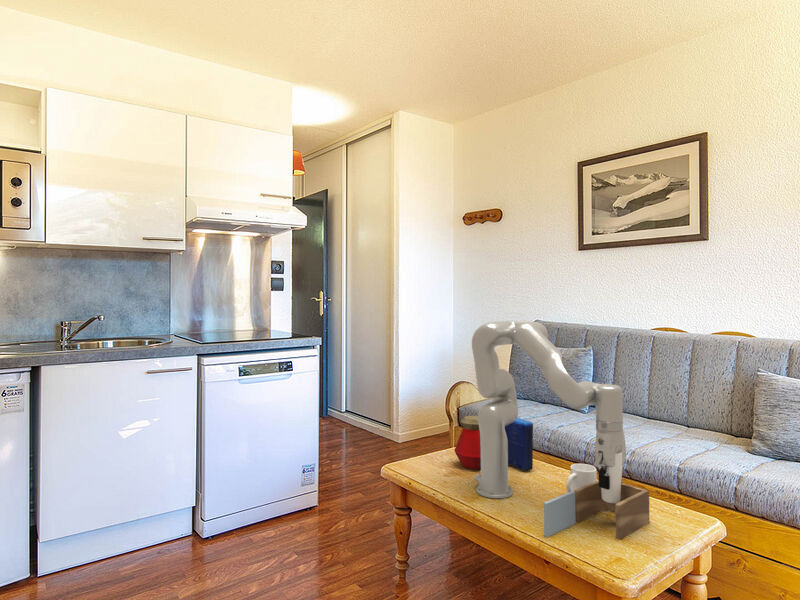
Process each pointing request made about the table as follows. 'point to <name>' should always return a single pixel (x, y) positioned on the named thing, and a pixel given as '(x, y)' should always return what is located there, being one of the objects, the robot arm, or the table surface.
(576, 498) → the u-shaped wooden frame
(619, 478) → the drinking glass
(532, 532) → the table surface
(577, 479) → the mug
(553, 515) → the thin blue-gray plank
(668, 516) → the table surface
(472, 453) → the red faceted jar
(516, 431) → the book
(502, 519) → the table surface
